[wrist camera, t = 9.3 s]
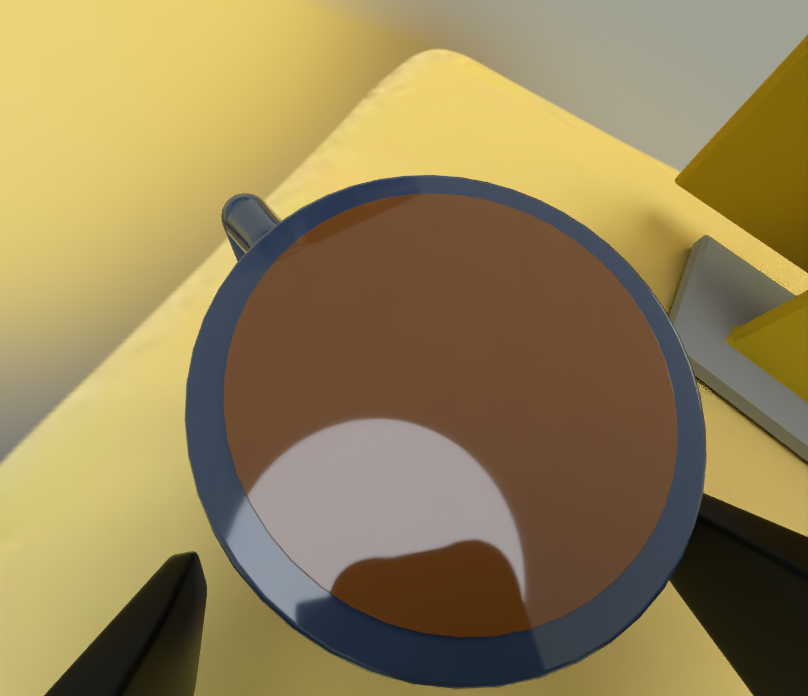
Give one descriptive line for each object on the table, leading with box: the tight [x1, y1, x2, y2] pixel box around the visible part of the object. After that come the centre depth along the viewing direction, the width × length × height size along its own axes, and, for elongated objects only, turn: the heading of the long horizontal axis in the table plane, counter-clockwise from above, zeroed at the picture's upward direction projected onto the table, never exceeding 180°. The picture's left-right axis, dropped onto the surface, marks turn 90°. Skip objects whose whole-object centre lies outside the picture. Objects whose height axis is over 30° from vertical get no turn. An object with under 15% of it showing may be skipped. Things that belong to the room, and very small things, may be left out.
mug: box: [185, 175, 706, 690], centre depth 12 cm, size 10×7×12 cm
